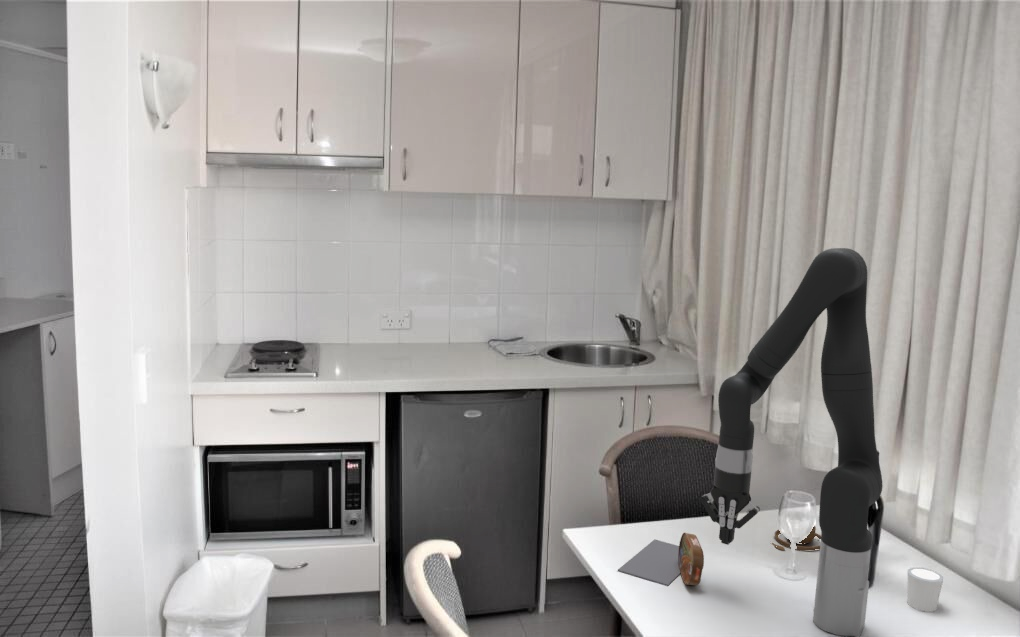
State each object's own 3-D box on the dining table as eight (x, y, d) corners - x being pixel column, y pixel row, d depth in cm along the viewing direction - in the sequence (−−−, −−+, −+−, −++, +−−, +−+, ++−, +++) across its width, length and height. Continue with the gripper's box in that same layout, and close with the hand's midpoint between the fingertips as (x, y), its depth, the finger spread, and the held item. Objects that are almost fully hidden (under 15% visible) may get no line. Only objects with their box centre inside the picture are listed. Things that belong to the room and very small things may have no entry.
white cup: (946, 608, 175) (950, 577, 174) (926, 615, 171) (930, 583, 170) (917, 594, 181) (920, 564, 180) (896, 601, 177) (900, 570, 176)
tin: (676, 559, 192) (680, 525, 191) (689, 561, 192) (694, 527, 191) (687, 592, 177) (691, 555, 176) (701, 593, 177) (706, 556, 176)
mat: (701, 553, 198) (701, 552, 198) (667, 586, 180) (667, 584, 180) (654, 540, 204) (654, 539, 204) (617, 570, 186) (617, 569, 186)
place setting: (812, 530, 216) (814, 509, 215) (869, 563, 197) (872, 539, 196) (755, 538, 210) (757, 515, 209) (809, 572, 191) (811, 548, 190)
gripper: (769, 468, 176) (761, 545, 179) (709, 454, 183) (702, 529, 186) (759, 477, 170) (751, 557, 173) (697, 463, 177) (690, 540, 180)
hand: (725, 542), depth 179 cm, fingers closed
